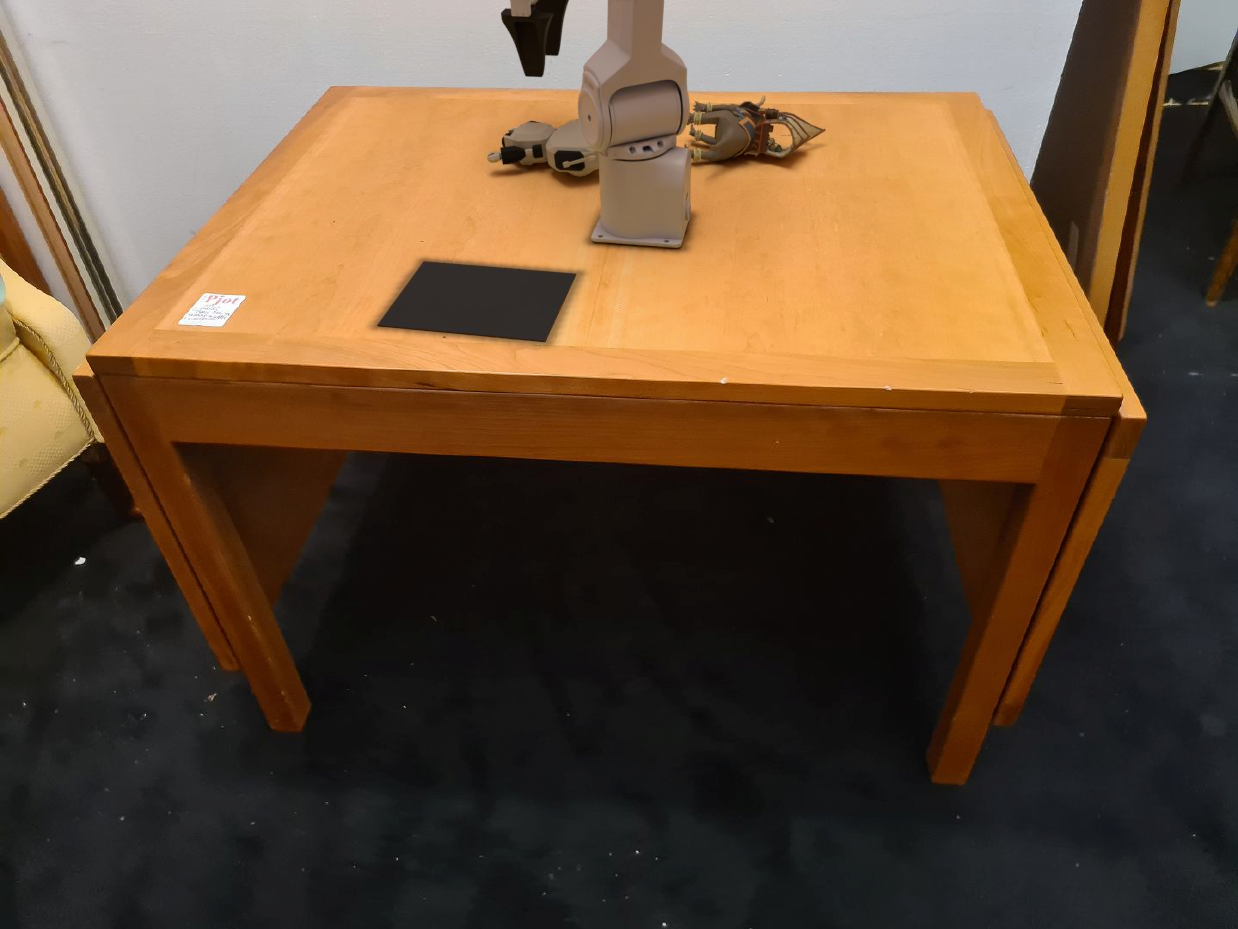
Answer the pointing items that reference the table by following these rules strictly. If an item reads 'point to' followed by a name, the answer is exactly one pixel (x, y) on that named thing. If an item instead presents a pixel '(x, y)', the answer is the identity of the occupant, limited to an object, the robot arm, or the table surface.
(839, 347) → the table surface
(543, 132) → the robot toy
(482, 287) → the mat
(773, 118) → the leather gauntlet glove
